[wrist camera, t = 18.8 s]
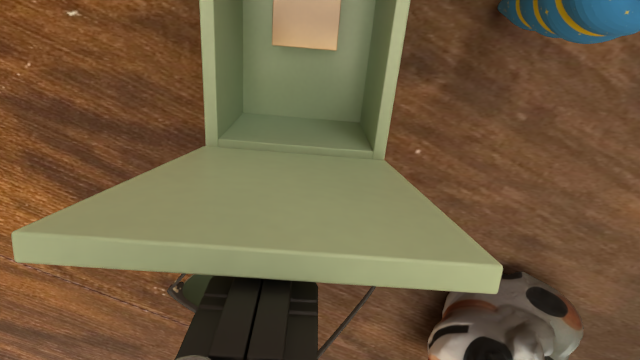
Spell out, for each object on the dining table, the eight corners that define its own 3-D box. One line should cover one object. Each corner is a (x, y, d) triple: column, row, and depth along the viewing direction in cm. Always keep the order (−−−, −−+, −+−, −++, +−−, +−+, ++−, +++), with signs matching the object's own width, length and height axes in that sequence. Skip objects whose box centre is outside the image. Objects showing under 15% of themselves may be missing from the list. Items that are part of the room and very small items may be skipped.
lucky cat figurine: (483, 373, 43) (468, 492, 31) (414, 298, 44) (375, 387, 33) (608, 328, 34) (648, 469, 23) (517, 237, 36) (512, 328, 24)
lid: (8, 231, 8) (12, 263, 8) (505, 266, 8) (498, 296, 9) (203, 145, 22) (203, 158, 22) (385, 160, 22) (384, 172, 23)
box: (234, -66, 25) (193, -113, 17) (391, -50, 26) (425, -88, 18) (235, 118, 31) (205, 149, 22) (366, 129, 31) (383, 163, 23)
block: (280, -21, 26) (273, -31, 22) (339, -15, 26) (343, -24, 22) (278, 43, 27) (271, 45, 23) (334, 48, 28) (336, 51, 24)
